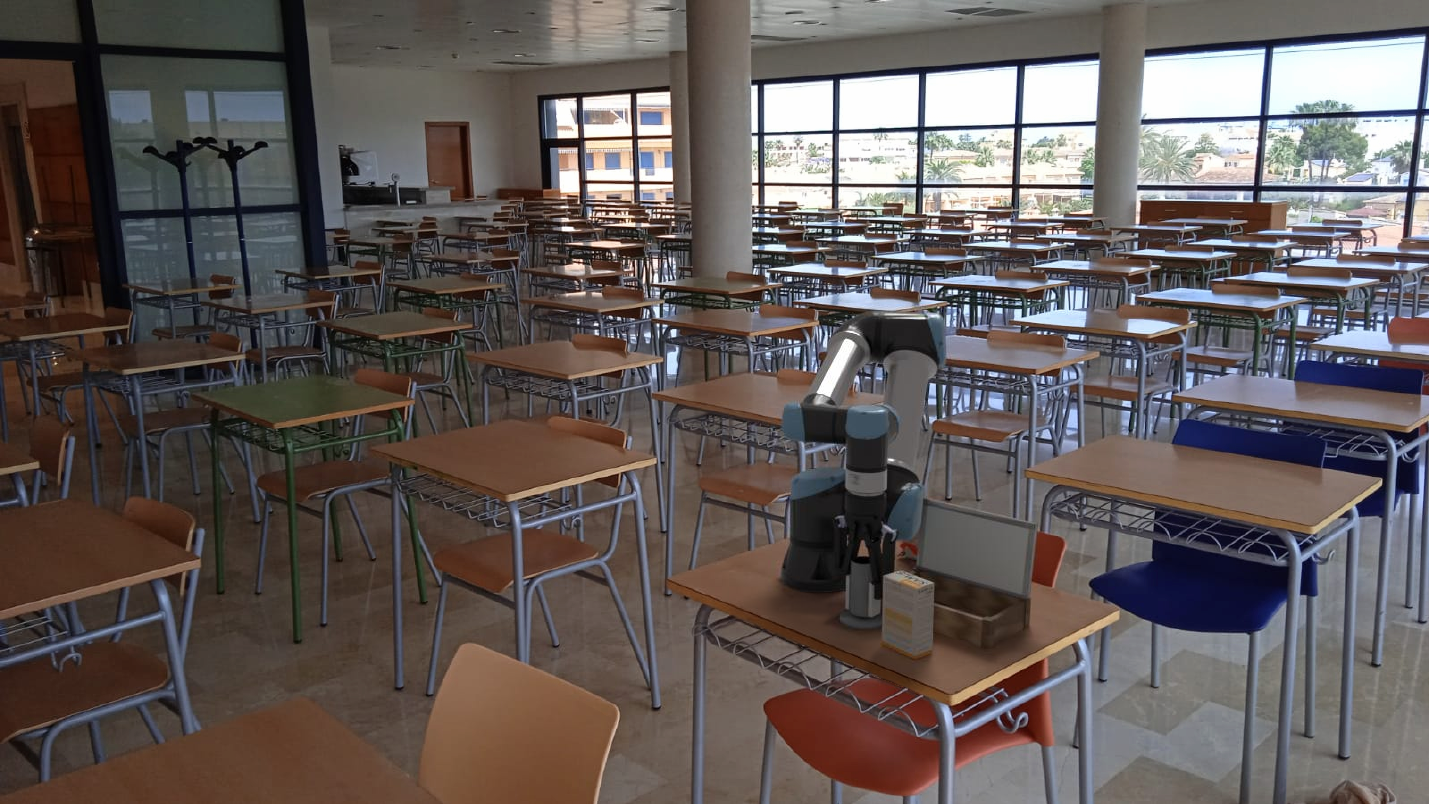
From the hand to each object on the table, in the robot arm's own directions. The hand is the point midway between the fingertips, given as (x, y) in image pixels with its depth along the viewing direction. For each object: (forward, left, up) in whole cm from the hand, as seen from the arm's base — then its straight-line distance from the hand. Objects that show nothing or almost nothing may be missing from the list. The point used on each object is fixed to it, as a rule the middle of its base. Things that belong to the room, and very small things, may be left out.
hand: (862, 610), depth 196 cm
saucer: (0, 0, -2) cm, 2 cm away
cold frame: (+11, +12, -2) cm, 17 cm away
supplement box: (+13, -5, -2) cm, 14 cm away
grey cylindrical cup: (0, 0, 0) cm, 1 cm away
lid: (+11, +19, +10) cm, 24 cm away
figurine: (-13, +37, -2) cm, 39 cm away
